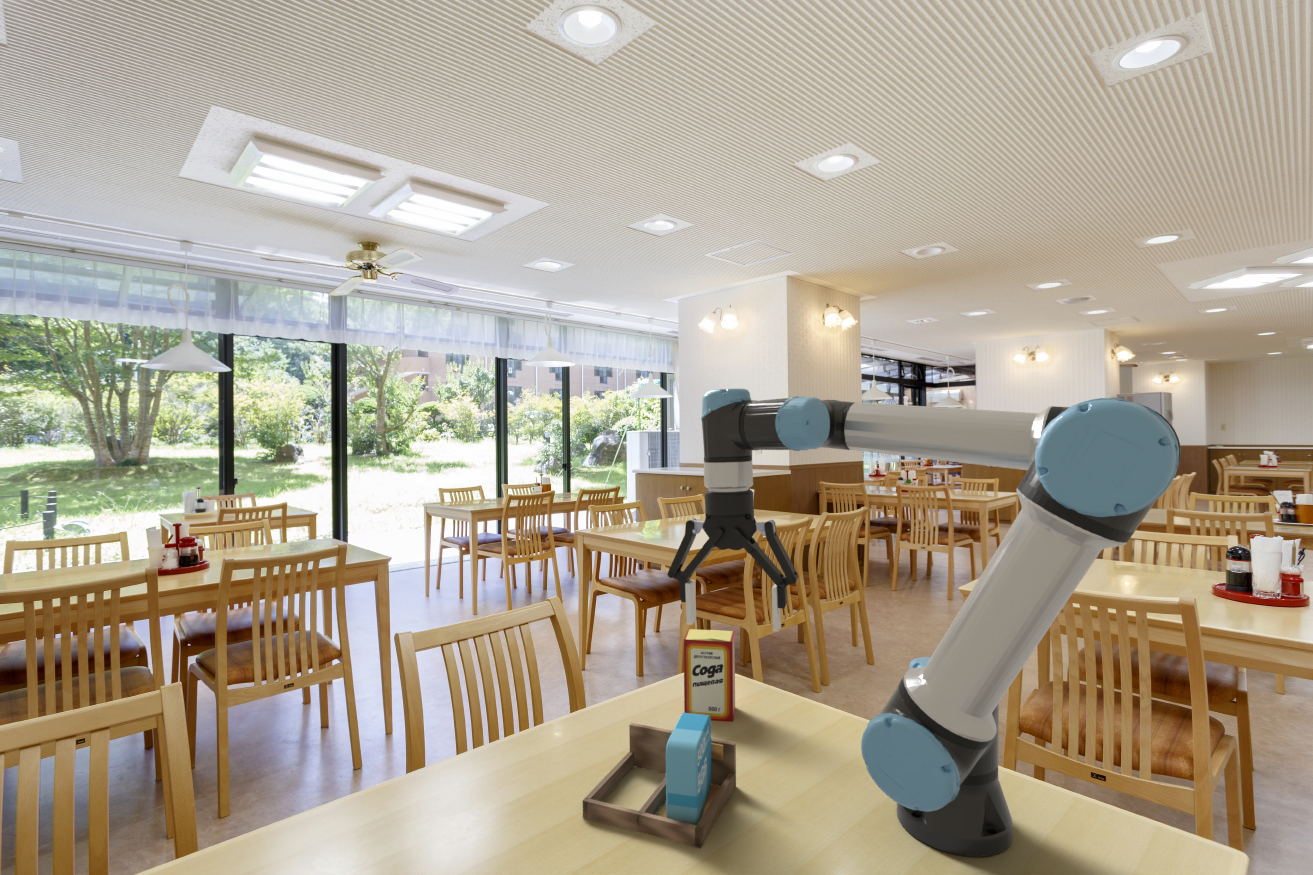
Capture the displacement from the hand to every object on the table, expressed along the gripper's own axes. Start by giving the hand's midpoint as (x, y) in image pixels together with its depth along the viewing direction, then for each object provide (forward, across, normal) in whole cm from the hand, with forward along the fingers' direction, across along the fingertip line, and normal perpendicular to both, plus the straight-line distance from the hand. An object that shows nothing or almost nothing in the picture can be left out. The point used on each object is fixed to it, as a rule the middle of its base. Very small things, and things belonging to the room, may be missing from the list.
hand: (733, 626), depth 102 cm
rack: (+26, +11, +5) cm, 29 cm away
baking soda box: (+26, +12, -27) cm, 39 cm away
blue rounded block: (+26, +6, +6) cm, 27 cm away
